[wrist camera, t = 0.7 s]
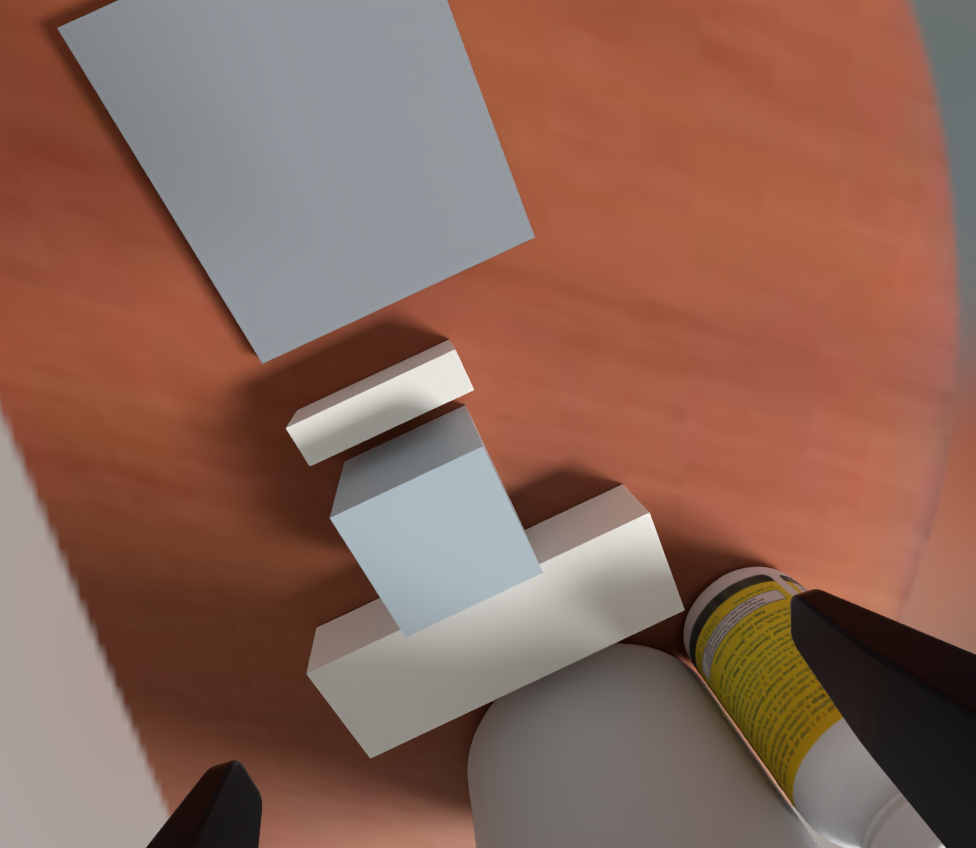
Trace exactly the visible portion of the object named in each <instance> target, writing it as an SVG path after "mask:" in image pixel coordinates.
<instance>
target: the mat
mask: <svg viewBox="0 0 976 848" xmlns="http://www.w3.org/2000/svg"><path fill="white" fill-rule="evenodd" d="M57 29H58V30H59V32H60V33H61V35H62V37H63V38H64V40H65V42H66V43H67V45H68V47H69V48H70V50H71V51H72V53H73V55H74V56H75V58H76V60H77V61H78V63H79V64H80V66H81V68H82V69H83V71H84V73H85V74H86V76H87V78H88V79H89V81H90V82H91V84H92V86H93V87H94V89H95V91H96V92H97V94H98V96H99V97H100V99H101V100H102V102H103V104H104V105H105V107H106V109H107V110H108V112H109V114H110V115H111V117H112V118H113V120H114V122H115V123H116V125H117V127H118V128H119V130H120V131H121V133H122V135H123V136H124V138H125V140H126V141H127V143H128V145H129V146H130V148H131V149H132V151H133V153H134V154H135V156H136V158H137V159H138V161H139V163H140V164H141V166H142V167H143V169H144V171H145V172H146V174H147V176H148V177H149V179H150V181H151V182H152V184H153V185H154V187H155V189H156V190H157V192H158V194H159V195H160V197H161V199H162V200H163V202H164V203H165V205H166V207H167V208H168V210H169V212H170V213H171V215H172V216H173V218H174V220H175V221H176V223H177V225H178V226H179V228H180V230H181V231H182V233H183V234H184V236H185V238H186V239H187V241H188V243H189V244H190V246H191V248H192V249H193V251H194V252H195V254H196V256H197V257H198V259H199V261H200V262H201V264H202V266H203V267H204V269H205V270H206V272H207V274H208V275H209V277H210V279H211V280H212V282H213V283H214V285H215V287H216V288H217V290H218V292H219V293H220V295H221V297H222V298H223V300H224V301H225V303H226V305H227V306H228V308H229V310H230V311H231V313H232V315H233V316H234V318H235V319H236V321H237V323H238V324H239V326H240V328H241V329H242V331H243V333H244V334H245V336H246V337H247V339H248V341H249V342H250V344H251V346H252V347H253V349H254V350H255V352H256V354H257V355H258V357H259V359H260V360H261V362H262V364H263V363H265V362H267V361H269V360H271V359H274V358H276V357H278V356H280V355H282V354H284V353H287V352H289V351H291V350H293V349H295V348H297V347H299V346H302V345H304V344H306V343H308V342H310V341H312V340H315V339H317V338H319V337H321V336H323V335H325V334H328V333H330V332H332V331H334V330H336V329H338V328H340V327H343V326H345V325H347V324H349V323H351V322H353V321H356V320H358V319H360V318H362V317H364V316H366V315H369V314H371V313H373V312H375V311H377V310H379V309H381V308H384V307H386V306H388V305H390V304H392V303H394V302H397V301H399V300H401V299H403V298H405V297H407V296H409V295H412V294H414V293H416V292H418V291H420V290H422V289H425V288H427V287H429V286H431V285H433V284H435V283H438V282H440V281H442V280H444V279H446V278H448V277H450V276H453V275H455V274H457V273H459V272H461V271H463V270H466V269H468V268H470V267H472V266H474V265H476V264H478V263H481V262H483V261H485V260H487V259H489V258H491V257H494V256H496V255H498V254H500V253H502V252H504V251H507V250H509V249H511V248H513V247H515V246H517V245H519V244H522V243H524V242H526V241H528V240H530V239H532V238H535V236H534V234H533V231H532V228H531V226H530V223H529V220H528V218H527V215H526V212H525V209H524V207H523V204H522V201H521V199H520V196H519V193H518V191H517V188H516V185H515V182H514V180H513V177H512V174H511V172H510V169H509V166H508V164H507V161H506V158H505V156H504V153H503V150H502V147H501V145H500V142H499V139H498V137H497V134H496V131H495V129H494V126H493V123H492V120H491V118H490V115H489V112H488V110H487V107H486V104H485V102H484V99H483V96H482V93H481V91H480V88H479V85H478V83H477V80H476V77H475V75H474V72H473V69H472V67H471V64H470V61H469V58H468V56H467V53H466V50H465V48H464V45H463V42H462V40H461V37H460V34H459V31H458V29H457V26H456V23H455V21H454V18H453V15H452V13H451V10H450V7H449V5H448V2H447V0H118V1H115V2H113V3H111V4H109V5H107V6H104V7H102V8H100V9H98V10H96V11H94V12H91V13H89V14H87V15H85V16H83V17H80V18H78V19H76V20H74V21H72V22H69V23H67V24H65V25H63V26H61V27H58V28H57Z"/></svg>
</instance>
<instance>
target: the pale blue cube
mask: <svg viewBox="0 0 976 848" xmlns="http://www.w3.org/2000/svg"><path fill="white" fill-rule="evenodd" d="M330 519H331V521H332V522H333V524H334V526H335V527H336V529H337V530H338V532H339V533H340V535H341V537H342V538H343V540H344V541H345V543H346V544H347V546H348V548H349V549H350V551H351V552H352V554H353V555H354V557H355V559H356V560H357V562H358V563H359V565H360V566H361V568H362V570H363V571H364V573H365V574H366V576H367V577H368V579H369V581H370V582H371V584H372V585H373V587H374V589H375V590H376V592H377V593H378V595H379V596H380V598H381V600H382V601H383V603H384V604H385V606H386V607H387V609H388V611H389V612H390V614H391V615H392V617H393V618H394V620H395V622H396V623H397V625H398V626H399V628H400V629H401V631H402V633H403V634H404V636H405V637H408V636H410V635H412V634H414V633H416V632H418V631H421V630H423V629H425V628H427V627H429V626H431V625H433V624H435V623H437V622H440V621H442V620H444V619H446V618H448V617H450V616H452V615H454V614H456V613H459V612H461V611H463V610H465V609H467V608H469V607H471V606H473V605H476V604H478V603H480V602H482V601H484V600H486V599H488V598H490V597H492V596H495V595H497V594H499V593H501V592H503V591H505V590H507V589H509V588H511V587H514V586H516V585H518V584H520V583H522V582H524V581H526V580H528V579H531V578H533V577H535V576H537V575H539V574H541V573H543V571H542V569H541V567H540V565H539V562H538V560H537V558H536V556H535V553H534V551H533V549H532V547H531V544H530V542H529V540H528V538H527V535H526V533H525V531H524V529H523V526H522V524H521V522H520V520H519V517H518V515H517V513H516V511H515V508H514V506H513V504H512V502H511V500H510V498H509V496H508V494H507V492H506V489H505V487H504V485H503V483H502V481H501V479H500V477H499V475H498V473H497V470H496V468H495V466H494V464H493V462H492V460H491V458H490V456H489V454H488V451H487V449H486V447H485V445H484V443H483V441H482V439H481V437H480V435H479V432H478V430H477V428H476V426H475V424H474V422H473V420H472V418H471V416H470V414H469V411H468V409H467V407H466V405H464V406H462V407H460V408H458V409H456V410H453V411H451V412H449V413H447V414H445V415H443V416H441V417H438V418H436V419H434V420H432V421H430V422H428V423H426V424H423V425H421V426H419V427H417V428H415V429H413V430H411V431H408V432H406V433H404V434H402V435H400V436H398V437H396V438H393V439H391V440H389V441H387V442H385V443H383V444H381V445H378V446H376V447H374V448H372V449H370V450H368V451H366V452H363V453H361V454H359V455H357V456H355V457H353V458H351V459H349V460H346V461H344V465H343V469H342V473H341V476H340V480H339V484H338V488H337V492H336V496H335V500H334V503H333V507H332V511H331V515H330Z"/></svg>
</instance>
